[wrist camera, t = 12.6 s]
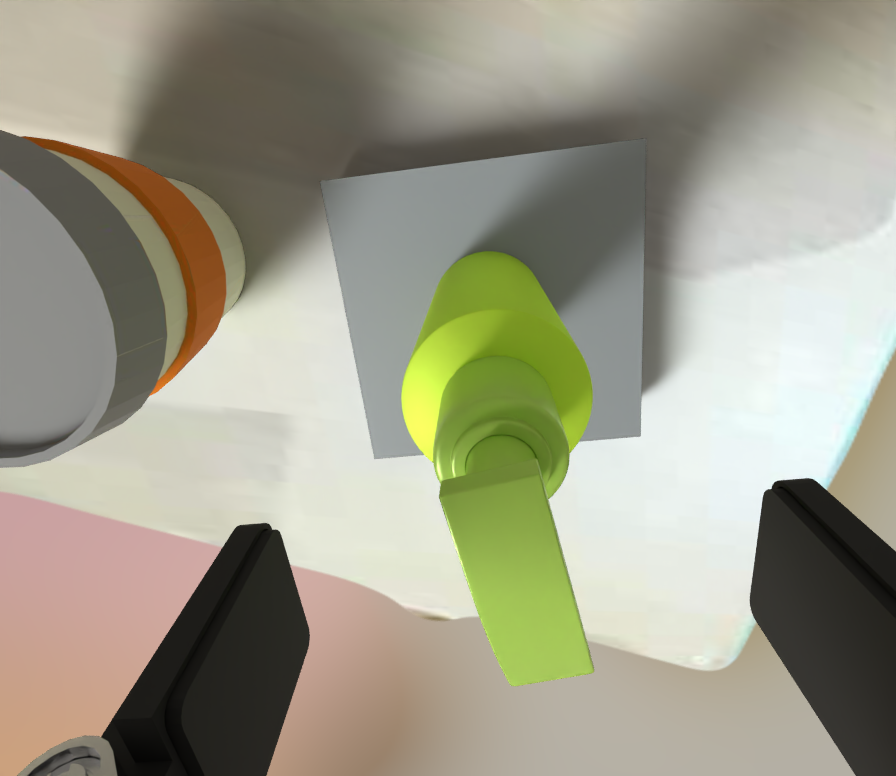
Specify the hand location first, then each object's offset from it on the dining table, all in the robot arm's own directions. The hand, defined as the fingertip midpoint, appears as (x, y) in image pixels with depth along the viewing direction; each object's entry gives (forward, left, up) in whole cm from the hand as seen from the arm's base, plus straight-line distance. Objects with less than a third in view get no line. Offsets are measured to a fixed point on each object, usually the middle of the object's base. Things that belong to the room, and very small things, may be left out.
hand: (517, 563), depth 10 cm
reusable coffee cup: (-5, -19, -24) cm, 31 cm away
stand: (0, 0, -24) cm, 24 cm away
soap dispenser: (0, 0, -20) cm, 20 cm away
